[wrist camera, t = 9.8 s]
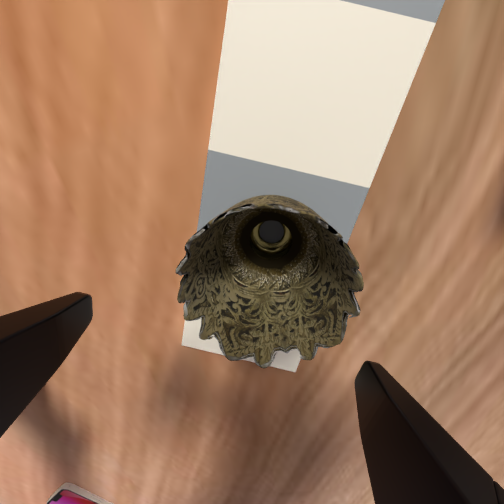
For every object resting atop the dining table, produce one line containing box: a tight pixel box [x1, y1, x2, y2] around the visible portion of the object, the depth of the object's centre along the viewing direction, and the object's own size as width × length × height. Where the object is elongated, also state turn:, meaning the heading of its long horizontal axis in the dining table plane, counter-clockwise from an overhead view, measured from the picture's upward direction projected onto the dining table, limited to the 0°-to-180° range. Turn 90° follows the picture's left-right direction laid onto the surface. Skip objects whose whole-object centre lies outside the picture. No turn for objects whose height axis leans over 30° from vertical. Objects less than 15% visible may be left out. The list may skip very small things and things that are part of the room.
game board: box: [182, 0, 445, 372], centre depth 16 cm, size 32×10×1 cm, turn 168°
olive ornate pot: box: [176, 195, 364, 368], centre depth 14 cm, size 8×7×8 cm
